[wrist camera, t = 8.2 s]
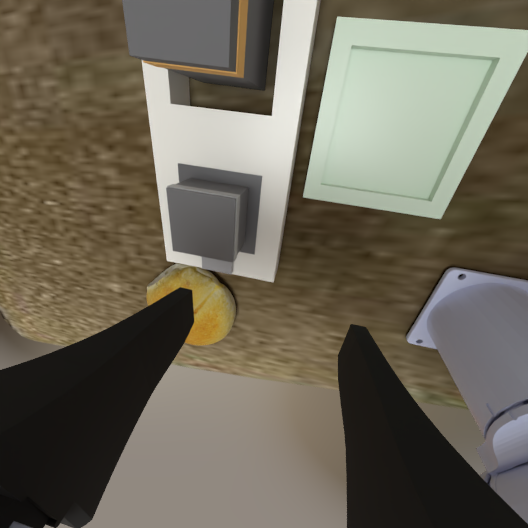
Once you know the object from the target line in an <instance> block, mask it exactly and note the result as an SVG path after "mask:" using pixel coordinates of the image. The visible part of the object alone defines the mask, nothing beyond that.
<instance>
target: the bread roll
mask: <svg viewBox="0 0 528 528" xmlns="http://www.w3.org/2000/svg"><path fill="white" fill-rule="evenodd" d="M179 287H181V288H186V289H191V290H192V293H193V308H194V324H193V326H192V328H191V330H190V333H189V335H188V337H187V339H186V341H185V342H186V343H188V344H192V345H209V344H213V343H216V342H218V341H220V340H222V339H223V338H224V337H225V336H226V335H227V334H228V333H229V331H230V330H231V327H232V325H233V323H234V319H235V317H236V305H235V300H234V298H233V296H232V294H231V292H230V291H229V290H228V288H227V287H226V286H225V285H223V284H221V283H220V282H219V281H218V280H217V278H216V277H215V276H214V275H213V274H212V273H211V272H210V271H208V270H206V269H202V268H200V267H195V266H190V265H185V264H180V263H176V264H175V265H173V266H171V267H169V268H168V269H166V271H164V272H162V273H161V274H160V275H159V277H157V278H155V280H154V281H153V282H151V283H150V284H149V285H148V286H147V303H148V306H149V305H151V304H153V303H155V302H156V301H158V300H159V299H161V298H163V297H164V296H166V295H168V294H169V293H171V292H173V291H174V290H176V289H178V288H179Z"/></svg>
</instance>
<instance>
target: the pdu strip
mask: <svg viewBox="0 0 528 528" xmlns="http://www.w3.org/2000/svg"><path fill="white" fill-rule="evenodd" d="M320 2H321V0H284V3H283V13H282V22H281V32H280V42H279V51H278V61H277V71H276V80H275V90H274V99H273V109H272V116H266V115H258V114H250V113H242V112H234V111H226V110H217V109H209V108H201V107H193V106H190V90H189V77H187V76H184V75H182V74H179V73H176V72H173V71H171V70H168V69H165V68H161V67H155V66H153V65H150V64H147V63H144V62H143V60H142V66H143V74H144V82H145V90H146V98H147V106H148V114H149V122H150V130H151V138H152V146H153V154H154V162H155V169H156V177H157V185H158V193H159V201H160V209H161V217H162V225H163V233H164V241H165V249H166V257H167V261H171V262H175V263H180V264H185V265H190V266H195V267H200V268H202V269H207V270H212V271H217V272H222V273H227V274H235V275H240V276H244V277H249V278H254V279H259V280H264V281H269V282H274V279H275V275H276V272H277V268H278V263H279V257H280V251H281V245H282V238H283V232H284V226H285V220H286V214H287V207H288V201H289V195H290V189H291V182H292V176H293V170H294V164H295V158H296V151H297V145H298V139H299V133H300V127H301V120H302V114H303V108H304V102H305V95H306V89H307V83H308V77H309V71H310V64H311V58H312V52H313V46H314V39H315V33H316V27H317V21H318V15H319V8H320Z"/></svg>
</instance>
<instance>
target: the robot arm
mask: <svg viewBox="0 0 528 528" xmlns="http://www.w3.org/2000/svg"><path fill="white" fill-rule="evenodd" d="M460 274H463V275H462V276H461V277H458V276H459V275H460ZM193 324H194V308H193V293H192V290H191V289H186V288H181V287H179V288H178V289H176V290H174V291H173V292H171V293H169V294H168V295H166V296H164V297H163V298H161V299H159V300H158V301H156V302H155V303H153V304H151V305H149V306H148V307H146V308H144V309H143V310H141V311H139V312H138V313H136V314H134V315H132V316H130V317H128V318H127V319H125V320H123V321H121V322H119V323H117V324H115V325H114V326H112V327H110V328H108V329H106V330H103V331H101V332H99V333H97V334H95V335H93V336H91V337H88V338H86V339H84V340H82V341H79V342H77V343H74V344H72V345H69V346H67V347H64V348H62V349H59V350H57V351H54V352H52V353H49V354H47V355H44V356H41V357H38V358H35V359H33V360H30V361H27V362H24V363H21V364H18V365H15V366H12V367H9V368H6V369H2V370H0V528H43V527H44V526H45V524H46V525H49V526H51V527H54V528H56V527H58V525H59V524H60V523H62V524H65V525H68V526H70V527H73V528H81V527H83V526H84V525H86V524H87V523H88V522H90V521H91V520H92V518H93V516H94V514H95V512H96V509H97V507H98V505H99V502H100V500H101V498H102V495H103V493H104V491H105V488H106V486H107V484H108V482H109V480H110V477H111V475H112V473H113V471H114V469H115V466H116V464H117V462H118V460H119V458H120V456H121V454H122V452H123V450H124V447H125V445H126V443H127V441H128V439H129V437H130V435H131V433H132V431H133V429H134V427H135V425H136V423H137V421H138V419H139V417H140V415H141V413H142V411H143V410H144V407H145V406H146V404H147V401H148V400H149V398H150V396H151V394H152V393H153V391H154V389H155V388H156V386H157V384H158V383H159V381H160V380H161V378H162V377H163V375H164V373H165V372H166V371H167V369H168V367H169V366H170V364H171V363H172V361H173V360H174V358H175V357H176V355H177V353H178V352H179V350H180V349H181V347H182V346H183V344H184V342H185V341H186V339H187V337H188V335H189V333H190V330H191V328H192V326H193ZM406 339H407V341H408V342H409V343H411V344H415V345H420V346H424V347H429V348H433V349H437V350H438V352H439V354H440V355H441V357H442V359H443V361H444V363H445V365H446V367H447V369H448V371H449V372H450V374H451V376H452V378H453V380H454V382H455V384H456V386H457V388H458V389H459V391H460V393H461V395H462V397H463V399H464V401H465V403H466V405H467V407H468V408H469V410H470V412H471V414H472V416H473V418H474V420H475V421H476V423H477V425H478V427H479V429H480V431H481V433H482V435H483V436H484V438H485V442H484V443H483V444H482V445H480V446H479V447H477V448H476V450H477V452H478V454H479V456H480V458H481V460H482V462H483V464H484V466H485V468H486V470H487V471H485V472H483V473H482V474H481V475H480V476H479V475H478V474H477V472H476V471H475V470H474V469H473V468H472V467H471V466H470V465H469V464H468V463H467V462H466V461H465V460H464V458H463V457H462V456H461V455H460V454H459V453H458V452H457V451H456V450H455V449H454V448H453V446H452V445H451V444H450V443H449V442H448V441H447V440H446V438H445V437H444V436H443V435H442V434H441V433H440V432H439V430H438V429H437V428H436V427H435V425H434V424H433V423H432V422H431V421H430V419H429V418H428V417H427V416H426V415H425V413H424V412H423V411H422V410H421V408H420V407H419V406H418V404H417V403H416V402H415V400H414V399H413V398H412V396H411V395H410V394H409V392H408V391H407V390H406V388H405V387H404V385H403V384H402V383H401V381H400V380H399V378H398V377H397V375H396V374H395V372H394V371H393V369H392V368H391V366H390V365H389V363H388V362H387V360H386V359H385V357H384V356H383V354H382V352H381V351H380V349H379V348H378V346H377V344H376V343H375V341H374V340H373V338H372V336H371V335H370V333H369V331H368V330H367V328H366V327H363V326H358V325H353V324H351V325H350V328H349V330H348V333H347V335H346V338H345V340H344V342H343V345H342V347H341V350H340V352H339V354H338V382H339V391H340V399H341V408H342V416H343V425H344V431H345V432H344V433H345V444H346V471H347V528H528V280H523V279H517V278H511V277H506V276H500V275H495V274H489V273H484V272H478V271H473V270H467V269H461V268H456V267H453V268H449V269H448V270H446V272H445V273H444V275H443V276H442V278H441V280H440V281H439V283H438V285H437V286H436V288H435V290H434V291H433V293H432V295H431V296H430V298H429V300H428V301H427V303H426V305H425V306H424V308H423V310H422V311H421V313H420V314H419V316H418V318H417V319H416V321H415V323H414V324H413V326H412V328H411V329H410V331H409V333H408V334H407V336H406ZM419 339H420V340H419Z"/></svg>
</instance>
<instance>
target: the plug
mask: <svg viewBox="0 0 528 528" xmlns="http://www.w3.org/2000/svg"><path fill="white" fill-rule="evenodd" d="M122 2H123V9H124V17H125V24H126V32H127V39H128V47H129V54H130V56H133V57H135V58H138V59H141V60H143V62H144V63H147V64H150V65H153V66H155V67H161V68H165V69H168V70H171V71H173V72H176V73H179V74H182V75H184V76H187V77H190V78H193V79H195V80H198V81H201V82H204V83H211V84H219V85H226V86H234V87H241V88H249V89H256V90H264V91H265V83H266V73H267V64H268V54H269V44H270V34H271V24H272V14H273V4H274V0H122Z"/></svg>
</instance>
